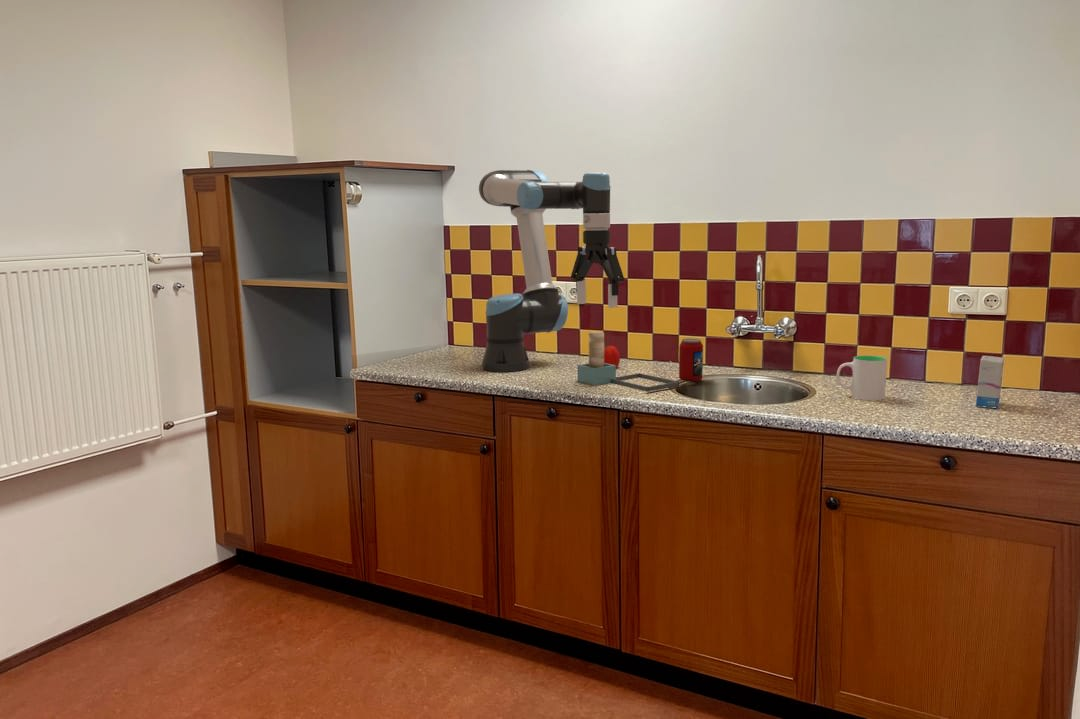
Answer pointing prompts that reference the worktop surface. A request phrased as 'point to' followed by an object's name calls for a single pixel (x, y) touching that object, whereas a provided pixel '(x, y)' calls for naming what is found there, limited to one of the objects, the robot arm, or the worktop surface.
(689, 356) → the beverage can
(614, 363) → the tomato
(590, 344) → the dowel
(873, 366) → the mug
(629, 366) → the worktop surface
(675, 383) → the dark grey rectangular frame
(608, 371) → the teal open box
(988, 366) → the ink box
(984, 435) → the worktop surface
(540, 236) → the robot arm
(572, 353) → the worktop surface
